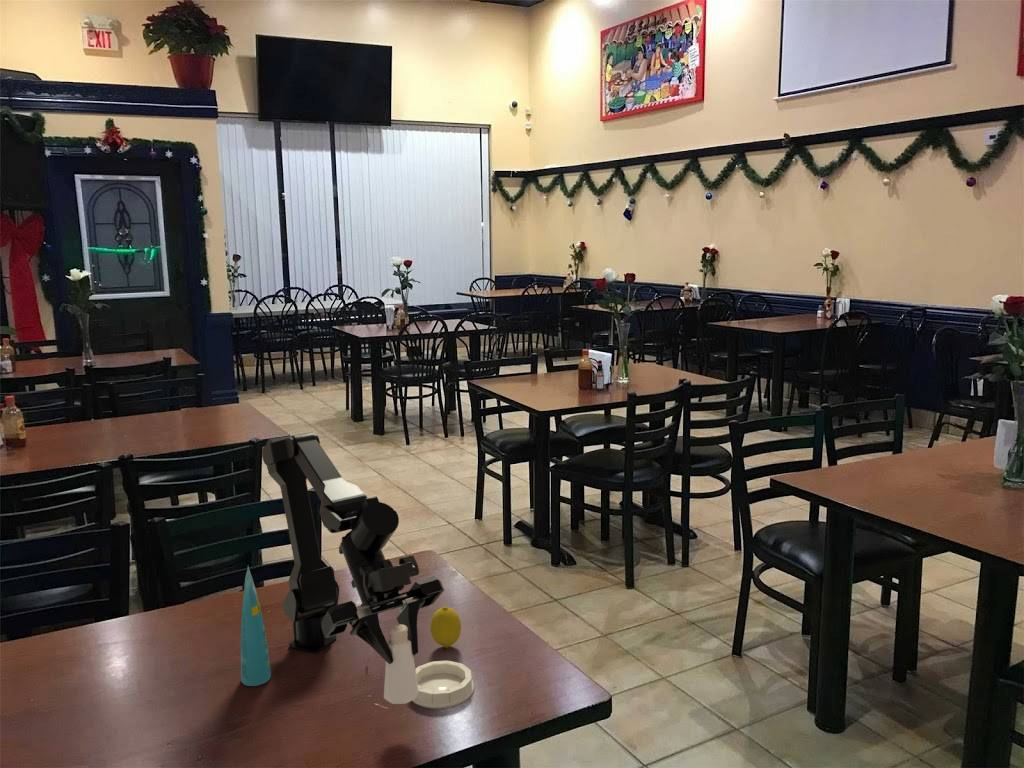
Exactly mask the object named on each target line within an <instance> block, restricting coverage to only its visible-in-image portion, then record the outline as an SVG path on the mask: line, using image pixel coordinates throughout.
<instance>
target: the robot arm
mask: <svg viewBox="0 0 1024 768" xmlns="http://www.w3.org/2000/svg"><path fill="white" fill-rule="evenodd" d="M261 455H262V460H263V461H262V462H264V464H265V465H266V468H267V471H268V475H269V476H270V477H271V478H272V479H273V481H275V482H276V484H277V485H278V486H279V487H280V493H281V497H282V498H281V499H282V503H283V509H284V514H285V519H286V524H287V525H286V526H287V530H288V535H289V540H290V546H291V551H292V556H293V561H294V565H293V567H292V571H291V572H290V573H291V574H290V576H289V578H288V585H289V591H288V592H287V595H286V596H285V598H284V600H283V602H282V606H283V611H284V615H285V616H286V617H288V618H289V619H290V621H292V630H293V640H292V641H291V642H290V643H288V648H292V649H296V650H300V651H305V652H309V653H313V654H317V653H319V652H320V651H322V650H323V649H324V648H326V647H327V646H329V644H331V643H333V641H334V640H337V638H338V636H337V635H341V634H344V632H345V631H346V629H347V627H348V624H349V625H350V627H351V630H350V631H349V635H350V636H351V637H352V636H355V635H356V636H357V637H359V638H360V639H361V640H363V641H364V642H365V643H366V644H367V645H369V646H370V647H371V648H372V649H373V650H374V651H375V652H376V653H377V654H378V655H379V656H380V657H381V658H382V659H383V660H384V661H385V662H386V661H387V662H388V663H389V664H391V663H392V662H393V657H392V654H391V651H390V649H389V646H388V642H387V640H386V637H385V635H384V633H383V631H382V629H381V626H380V620H379V619H380V618H379V614H381V613H384V612H388V611H392V610H394V609H398V613H399V615H398V616H397V618H396V621H397V622H398V624H403V625H405V626H407V627H408V631H407V633H408V637H407V639H408V640H409V641H411V644H412V652H413V656H417V654H418V653H419V640H418V639H419V638H418V615H419V610H420V609H423V608H426V607H429V606H431V605H433V604H434V603H435V602H436V601H437V600H438V599H439V597H440V596H441V595H442V594H443V592H444V591H445V589H444V586H443V584H442V581H441V580H440V579H438V578H437V577H436V576H432V577H427V578H424V579H421V580H417V581H415V583H413V585H412V579H411V578H412V577H416V576H419V573H420V569H419V564H418V562H417V560H416V559H415V556H414V554H411V555H408V556H403V557H400V558H398V564H397V565H395V566H394V565H393V563H392V561H391V560H390V559H389V558H388V559H386V558H385V556H384V553H383V548H384V547H386V545H387V543H388V542H389V540H390V539H391V537H392V536H393V535H394V533H395V531H396V530H397V528H398V526H399V523H400V520H399V514H398V512H397V511H396V510H395V509H394V508H393V507H392V506H390V505H389V504H387V503H385V502H382V501H380V500H379V498H378V496H377V495H376V496H371V497H368V496H367V495H366V494H365V493H364V491H362V489H361V488H360V487H359V486H358V485H356V484H353V483H351V482H349V481H347V480H345V479H344V478H343V476H342V475H341V473H340V472H339V470H338V468H337V467H336V466H335V465H334V464H333V461H332V460H331V459H330V457H329V456H328V454H327V453H326V451H325V450H324V449H323V447H322V445H321V441H320V438H319V436H318V434H317V433H313V432H306V433H301V434H293V435H288V436H281V437H276V438H269V439H268V440H267V442H266V445H264V446H263V447H262V449H261ZM307 481H308V482H309V484H310V486H312V488H313V490H314V491H315V493H316V496H317V497H318V498H319V500H320V507H319V515H320V520H321V523H322V525H323V526H324V527H325V528H326V530H327V531H328V532H329V533H331V534H336V533H341V532H346V531H348V532H347V533H346V534H345V535H344V536H342V537H341V542H340V544H339V547H338V553H339V554H340V555H343V556H344V559H345V561H346V564H347V568H348V570H349V572H350V575H351V578H352V580H351V581H350V584H351V586H352V589H355V588H356V591H357V594H358V596H359V598H360V602H361V604H360V605H356V603H355V602H353V601H352V600H350V601H349V600H348V601H346V602H342V603H340V604H339V598H340V597H339V596H340V585H339V583H338V581H337V580H336V579H335V578H336V577H335V571H334V569H333V567H332V566H331V565H328V564H327V563H326V562H325V561H324V560H323V559H322V557H321V553H320V552H321V551H320V547H319V546H320V545H319V541H318V537H317V532H316V525H315V520H314V516H313V510H312V504H311V500H310V494H309V490H308V483H307ZM349 530H350V531H349ZM409 585H412V586H411V587H410V589H409V590H408V591H405V592H402V593H399V592H401V591H403V589H404V588H405V586H409Z"/></svg>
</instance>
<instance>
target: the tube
mask: <svg viewBox="0 0 1024 768" xmlns="http://www.w3.org/2000/svg"><path fill="white" fill-rule="evenodd" d="M243 587H244V588H243V594H242V597H243V598H242V610H241V623H240V625H241V627H240V676H241V677H240V678H241V679H240V680H241V683H242V684H243V685H244V686H247V687H248V686H249V687H257V686H261V685H264V684H265V683H267V682H268V681H269V680H270V679H271V677H272V673H271V672H272V671H271V663H270V655H269V649H268V641H267V634H266V630H265V629H266V628H265V624H264V617H263V615H262V614H263V613H262V609H261V603H260V601H259V598H258V597H259V596H258V593H257V589H256V586H255V583H254V579H253V577H252V574H251V571H250V567H249V565H247V570H246V573H245V578H244V586H243Z"/></svg>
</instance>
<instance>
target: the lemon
mask: <svg viewBox="0 0 1024 768" xmlns="http://www.w3.org/2000/svg"><path fill="white" fill-rule="evenodd" d="M461 631H462V623H461V619H460V616H459V614H458V612H457V611H455V610H454V609H453V608H452V607H448V606H446V605H445V606H443V607H441V608H439V609H437V610H436V611H435V612H434V613H433V615H432V617H431V620H430V634H431V636H432V639H433V640H434V642H435V643H436V644H437V645H439V646H441V647H444V649H447V648H449V647H450V646H452V645H454V644H455V643H456V642H457V641H458V640H459V638H460V636H461Z"/></svg>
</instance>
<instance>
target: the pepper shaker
mask: <svg viewBox="0 0 1024 768" xmlns="http://www.w3.org/2000/svg"><path fill="white" fill-rule="evenodd" d="M407 631H408V627H407V626H405V625H403V624H399V623H398V624H393V625H392V626H389V628H388V634H389V639H390V640H389V641H388V642H387V644H388V646H389V649H390V651H391V654H392V657H393V662H392V663H391V664H389V663H388V662H387V661H386V660H385V671H384V688H383V699H384V700H386V701H387V702H388V703H390V704H392V705H400V704H401V705H403V704H404V705H406V704H408V703H410V702H412V700H414V699H416V698H417V695H418V683H417V677H416V670H415V669H416V665H415V659H414V658H415V657H414V655H413V652H412V644H411V641H409V640H408V639H407V637H408V633H407Z"/></svg>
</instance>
